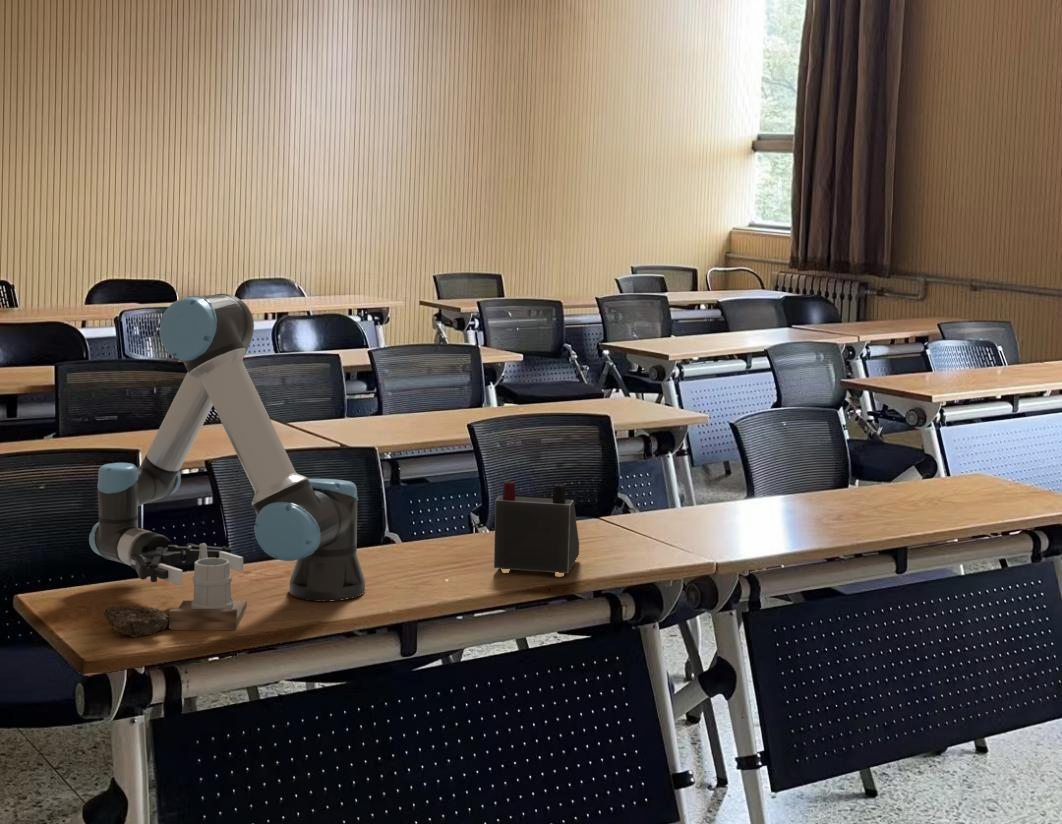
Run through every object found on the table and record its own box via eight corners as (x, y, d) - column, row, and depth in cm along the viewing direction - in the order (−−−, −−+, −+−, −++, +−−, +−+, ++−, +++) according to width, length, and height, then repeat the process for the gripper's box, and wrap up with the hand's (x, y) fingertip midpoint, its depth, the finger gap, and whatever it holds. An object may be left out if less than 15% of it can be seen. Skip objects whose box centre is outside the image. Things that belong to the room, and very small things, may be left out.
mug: (198, 621, 251) (197, 557, 250) (180, 604, 262) (179, 543, 260) (239, 616, 255) (238, 553, 254) (219, 600, 265) (219, 539, 264)
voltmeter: (578, 561, 309) (581, 473, 306) (567, 579, 293) (570, 487, 290) (508, 556, 311) (510, 469, 309) (493, 574, 295) (495, 482, 293)
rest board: (246, 608, 266) (246, 590, 265) (235, 630, 252) (235, 611, 251) (183, 607, 265) (183, 590, 264) (169, 629, 251) (169, 611, 250)
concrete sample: (113, 643, 243) (112, 616, 242) (99, 628, 252) (99, 601, 251) (177, 635, 249) (177, 608, 248) (162, 620, 257) (162, 594, 256)
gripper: (200, 558, 279) (265, 578, 265) (89, 580, 260) (154, 603, 247) (199, 522, 278) (265, 540, 264) (88, 542, 259) (153, 562, 246)
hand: (212, 570), depth 255 cm, fingers open, 13 cm apart
